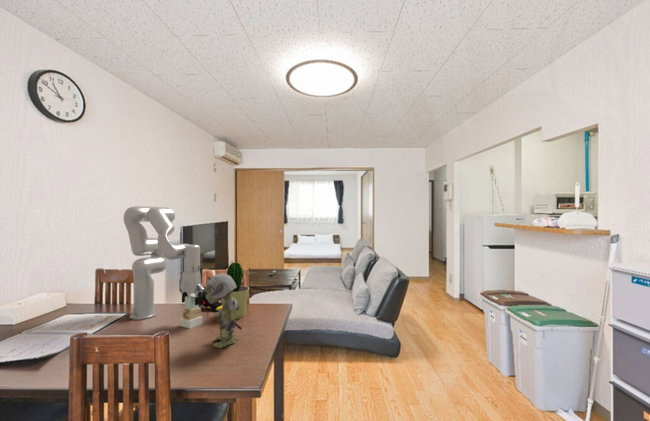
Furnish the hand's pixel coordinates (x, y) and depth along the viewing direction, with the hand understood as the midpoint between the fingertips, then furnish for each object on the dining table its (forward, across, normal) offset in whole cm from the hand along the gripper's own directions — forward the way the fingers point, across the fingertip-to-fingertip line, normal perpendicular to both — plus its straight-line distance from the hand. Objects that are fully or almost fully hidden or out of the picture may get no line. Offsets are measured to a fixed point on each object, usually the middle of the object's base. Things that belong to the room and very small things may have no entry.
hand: (191, 303), depth 154 cm
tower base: (+11, 0, 0) cm, 11 cm away
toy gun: (+11, -15, +22) cm, 29 cm away
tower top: (+7, 0, 0) cm, 7 cm away
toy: (+11, +31, -8) cm, 34 cm away
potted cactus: (+11, +9, +21) cm, 25 cm away
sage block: (+2, 0, 0) cm, 3 cm away
